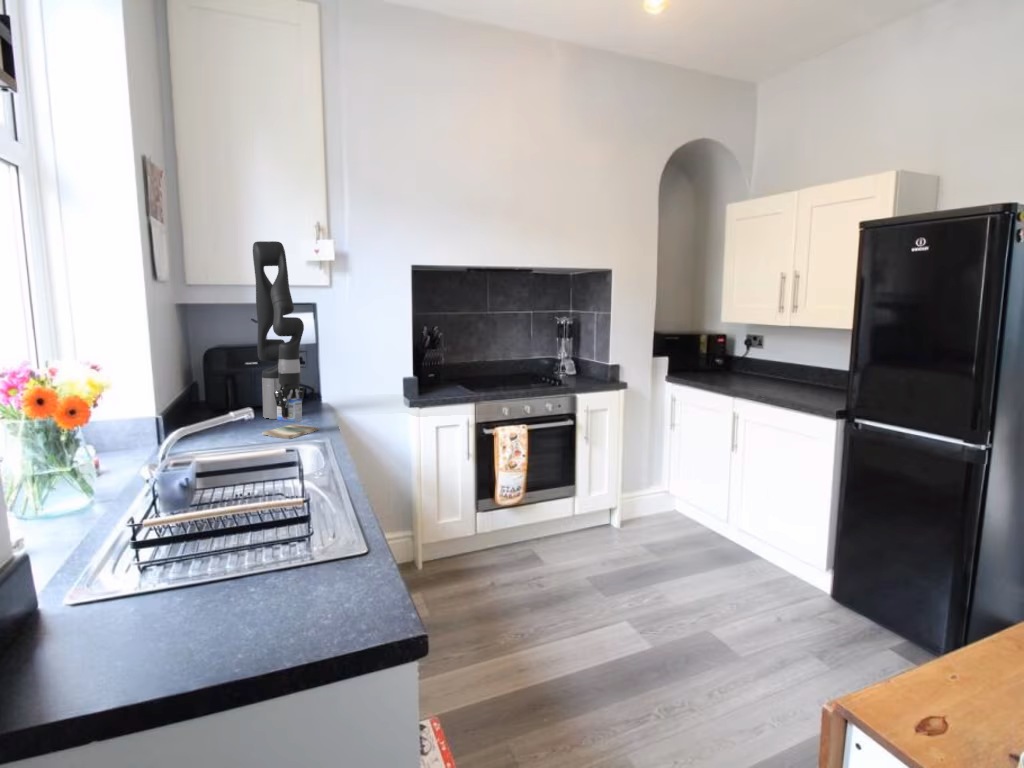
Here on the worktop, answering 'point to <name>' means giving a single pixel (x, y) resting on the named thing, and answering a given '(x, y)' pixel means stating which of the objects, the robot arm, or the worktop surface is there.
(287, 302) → the robot arm
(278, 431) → the board
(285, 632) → the worktop surface
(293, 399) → the medicine box
